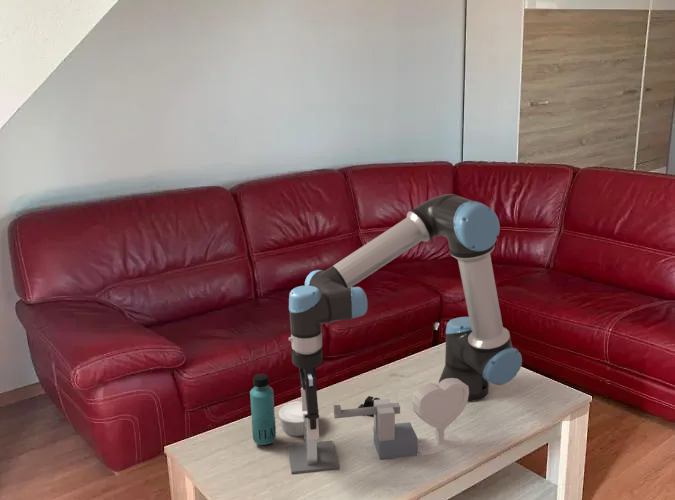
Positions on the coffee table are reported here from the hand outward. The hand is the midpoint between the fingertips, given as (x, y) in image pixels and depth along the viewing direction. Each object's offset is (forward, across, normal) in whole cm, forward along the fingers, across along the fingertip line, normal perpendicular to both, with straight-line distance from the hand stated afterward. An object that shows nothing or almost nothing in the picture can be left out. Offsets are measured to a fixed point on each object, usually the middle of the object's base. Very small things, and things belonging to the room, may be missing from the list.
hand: (310, 424), depth 171 cm
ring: (+9, 0, 0) cm, 9 cm away
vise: (+10, 0, +17) cm, 19 cm away
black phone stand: (+11, -19, +20) cm, 30 cm away
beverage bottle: (+10, -9, -12) cm, 18 cm away
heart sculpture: (+10, 0, +34) cm, 36 cm away
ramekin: (+10, -15, -2) cm, 18 cm away
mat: (+10, 0, 0) cm, 10 cm away
